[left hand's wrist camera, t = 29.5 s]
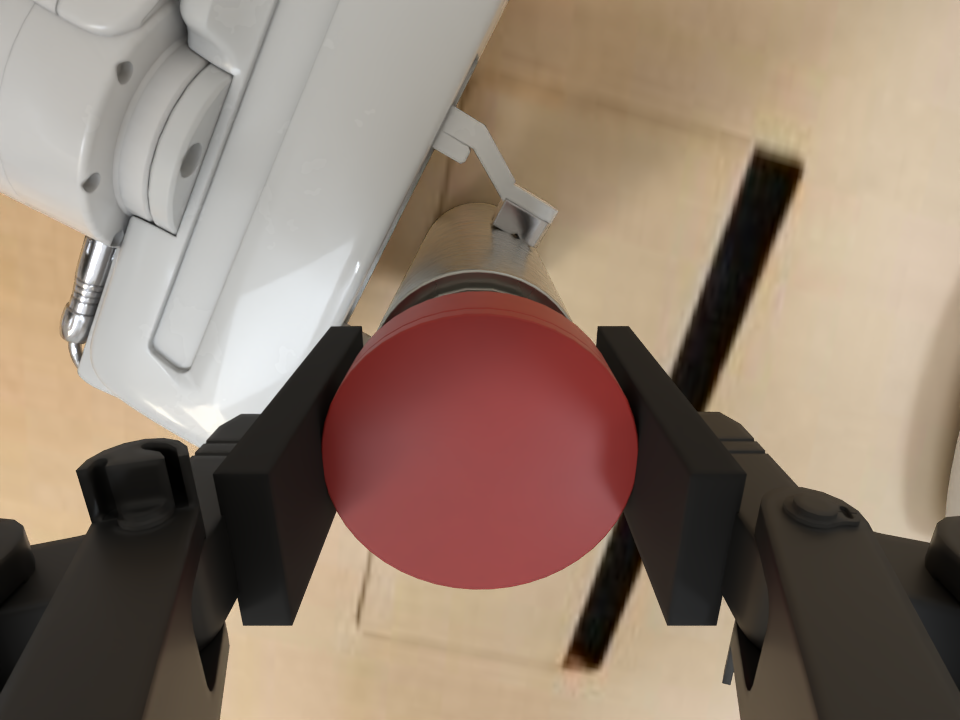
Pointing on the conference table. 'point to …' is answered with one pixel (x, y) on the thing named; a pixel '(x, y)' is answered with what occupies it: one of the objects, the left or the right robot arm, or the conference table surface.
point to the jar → (473, 263)
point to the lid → (479, 442)
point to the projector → (954, 485)
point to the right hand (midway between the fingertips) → (499, 306)
